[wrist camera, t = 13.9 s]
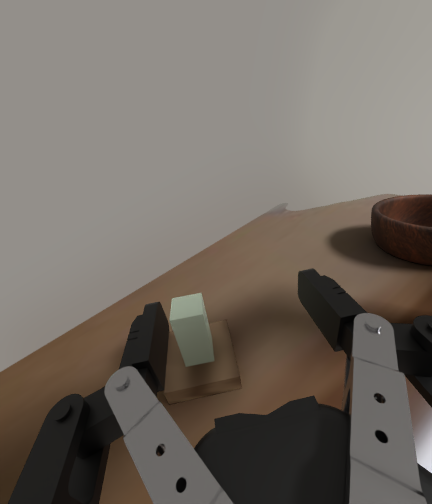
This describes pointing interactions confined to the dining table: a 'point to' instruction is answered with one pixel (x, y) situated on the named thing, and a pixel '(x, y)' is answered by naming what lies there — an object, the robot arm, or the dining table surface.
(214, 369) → the base slab
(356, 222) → the dining table surface
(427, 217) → the wooden bowl
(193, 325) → the pillar
